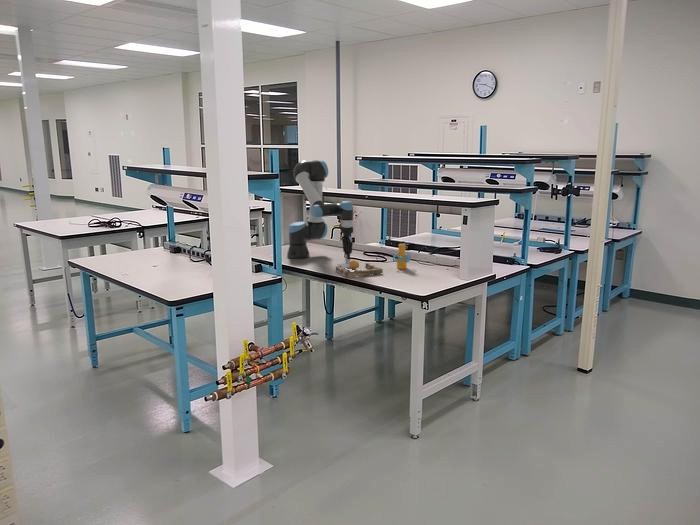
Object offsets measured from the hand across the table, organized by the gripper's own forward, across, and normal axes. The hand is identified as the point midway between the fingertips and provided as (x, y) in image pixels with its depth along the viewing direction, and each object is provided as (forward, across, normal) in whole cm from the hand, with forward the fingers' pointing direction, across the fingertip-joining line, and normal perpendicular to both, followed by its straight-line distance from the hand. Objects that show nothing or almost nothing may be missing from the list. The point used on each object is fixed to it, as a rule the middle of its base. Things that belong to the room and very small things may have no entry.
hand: (347, 263), depth 329 cm
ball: (-1, +10, 0) cm, 10 cm away
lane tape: (+2, +6, 0) cm, 6 cm away
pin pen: (+2, +16, 0) cm, 16 cm away
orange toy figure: (+2, +19, +28) cm, 34 cm away
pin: (+1, +14, 0) cm, 14 cm away
